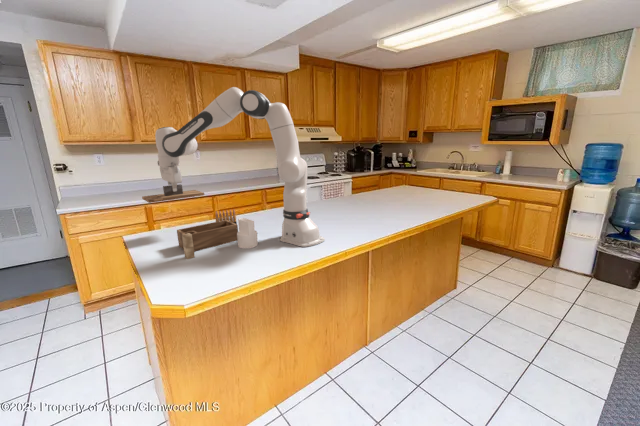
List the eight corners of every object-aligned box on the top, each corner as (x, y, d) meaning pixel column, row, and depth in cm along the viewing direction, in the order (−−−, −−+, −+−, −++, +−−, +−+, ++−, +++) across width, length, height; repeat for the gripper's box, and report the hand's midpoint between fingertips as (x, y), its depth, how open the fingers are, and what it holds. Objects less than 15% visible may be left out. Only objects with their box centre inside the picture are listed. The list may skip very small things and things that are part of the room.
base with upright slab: (261, 244, 136) (259, 219, 133) (244, 250, 130) (242, 224, 127) (251, 240, 143) (249, 216, 140) (234, 245, 136) (231, 220, 133)
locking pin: (192, 255, 125) (189, 233, 123) (194, 257, 123) (191, 234, 121) (184, 257, 123) (181, 234, 121) (187, 259, 121) (184, 236, 119)
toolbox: (238, 240, 143) (237, 224, 141) (187, 253, 127) (185, 235, 125) (227, 234, 152) (226, 219, 150) (179, 246, 136) (176, 229, 134)
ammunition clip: (217, 233, 153) (214, 211, 150) (216, 232, 155) (214, 210, 152) (237, 230, 158) (235, 209, 155) (237, 229, 160) (235, 208, 157)
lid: (204, 195, 148) (203, 183, 147) (149, 202, 132) (147, 190, 131) (195, 192, 158) (193, 181, 156) (142, 198, 142) (140, 187, 140)
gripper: (183, 162, 135) (187, 192, 139) (170, 161, 150) (173, 187, 154) (168, 163, 131) (173, 194, 135) (156, 161, 146) (160, 189, 149)
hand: (173, 190), depth 144 cm, fingers closed on lid, 2 cm apart
